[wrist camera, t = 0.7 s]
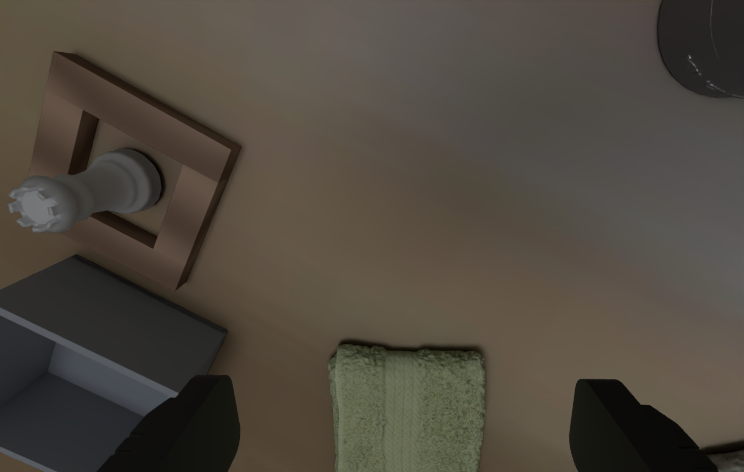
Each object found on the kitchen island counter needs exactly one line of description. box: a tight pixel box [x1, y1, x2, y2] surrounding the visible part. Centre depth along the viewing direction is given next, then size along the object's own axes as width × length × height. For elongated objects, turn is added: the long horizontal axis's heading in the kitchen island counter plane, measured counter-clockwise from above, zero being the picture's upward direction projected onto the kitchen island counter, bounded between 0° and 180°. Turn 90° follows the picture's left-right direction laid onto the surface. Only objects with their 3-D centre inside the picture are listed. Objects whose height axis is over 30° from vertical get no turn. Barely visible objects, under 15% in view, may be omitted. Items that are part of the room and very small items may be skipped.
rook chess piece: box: [8, 149, 161, 233], centre depth 23 cm, size 4×4×8 cm
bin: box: [0, 255, 228, 472], centre depth 29 cm, size 13×13×7 cm
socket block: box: [28, 51, 241, 291], centre depth 26 cm, size 12×12×2 cm
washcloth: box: [328, 344, 486, 472], centre depth 32 cm, size 13×18×3 cm
